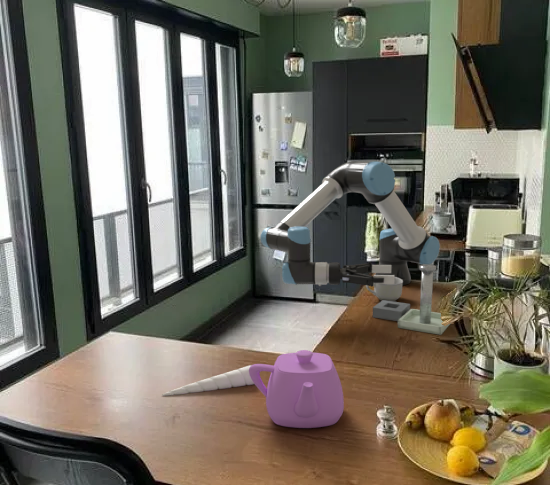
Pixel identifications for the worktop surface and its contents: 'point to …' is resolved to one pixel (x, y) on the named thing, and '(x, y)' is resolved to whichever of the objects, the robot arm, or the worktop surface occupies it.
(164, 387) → the worktop surface
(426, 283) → the pin
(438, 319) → the tray
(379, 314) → the socket block
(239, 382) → the unicorn horn
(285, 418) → the teapot
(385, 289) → the teacup
